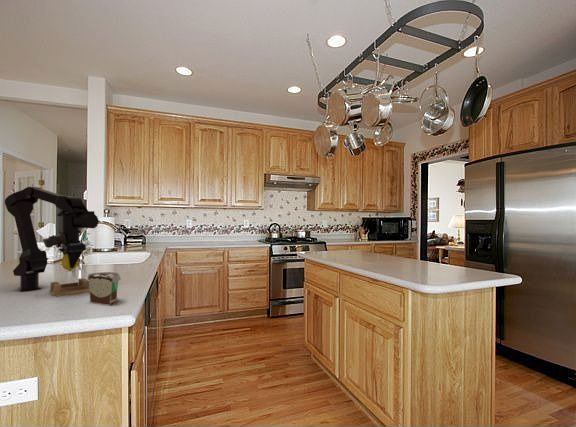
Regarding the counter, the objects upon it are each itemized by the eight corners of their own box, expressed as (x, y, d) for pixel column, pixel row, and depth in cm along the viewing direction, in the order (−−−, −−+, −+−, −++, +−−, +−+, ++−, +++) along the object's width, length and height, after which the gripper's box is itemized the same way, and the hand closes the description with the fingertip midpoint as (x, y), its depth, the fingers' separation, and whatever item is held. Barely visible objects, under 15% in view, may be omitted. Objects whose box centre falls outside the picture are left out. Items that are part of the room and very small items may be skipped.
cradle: (49, 292, 118) (49, 282, 118) (83, 287, 127) (83, 277, 127) (54, 296, 112) (54, 286, 112) (90, 291, 121) (90, 281, 121)
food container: (128, 301, 108) (128, 273, 108) (113, 306, 102) (113, 276, 102) (102, 297, 112) (103, 270, 112) (87, 302, 106) (87, 273, 106)
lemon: (69, 273, 116) (69, 252, 116) (57, 272, 117) (58, 251, 117) (81, 270, 122) (82, 250, 122) (70, 269, 123) (70, 250, 123)
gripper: (40, 227, 120) (39, 266, 120) (50, 229, 107) (49, 273, 107) (73, 226, 128) (73, 263, 128) (86, 228, 116) (85, 269, 116)
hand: (70, 266), depth 119 cm, fingers closed on lemon, 5 cm apart
